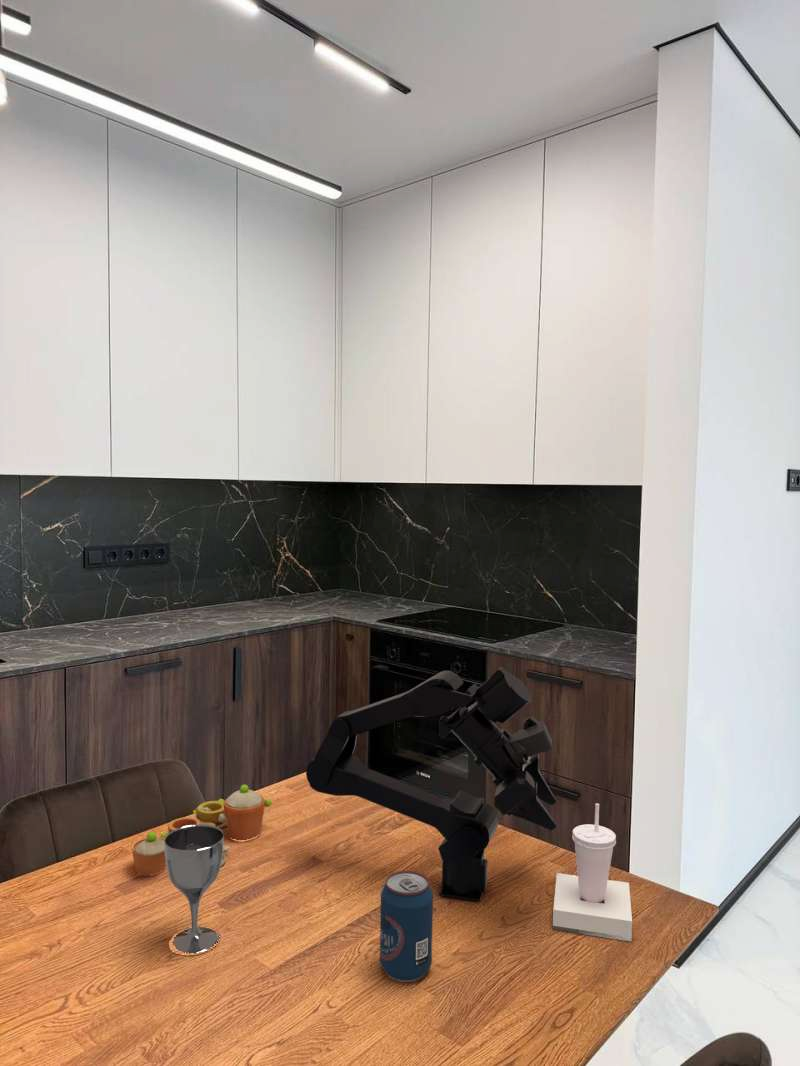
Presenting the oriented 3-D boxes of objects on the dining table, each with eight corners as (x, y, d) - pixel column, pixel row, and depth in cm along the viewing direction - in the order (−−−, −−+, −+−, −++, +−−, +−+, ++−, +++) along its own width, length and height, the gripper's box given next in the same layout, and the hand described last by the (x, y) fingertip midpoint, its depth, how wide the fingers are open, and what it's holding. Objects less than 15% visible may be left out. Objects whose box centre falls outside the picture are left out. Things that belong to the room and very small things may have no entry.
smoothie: (622, 897, 115) (625, 806, 114) (597, 912, 111) (601, 818, 110) (586, 880, 120) (589, 792, 119) (561, 894, 116) (564, 803, 115)
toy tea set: (208, 813, 150) (208, 765, 149) (278, 827, 144) (278, 776, 144) (114, 876, 126) (114, 818, 125) (194, 895, 120) (194, 835, 120)
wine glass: (234, 931, 110) (234, 829, 109) (202, 963, 103) (202, 854, 102) (186, 920, 113) (186, 820, 112) (152, 950, 105) (152, 844, 104)
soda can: (369, 964, 103) (370, 877, 102) (410, 946, 107) (412, 863, 106) (400, 992, 98) (401, 901, 97) (442, 972, 102) (444, 884, 101)
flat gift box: (552, 929, 112) (553, 909, 112) (556, 891, 123) (556, 872, 122) (631, 941, 109) (632, 921, 109) (628, 901, 120) (628, 882, 120)
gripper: (519, 724, 110) (596, 807, 108) (524, 690, 128) (590, 761, 127) (463, 773, 112) (538, 855, 110) (476, 733, 130) (540, 803, 129)
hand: (554, 815), depth 119 cm, fingers open, 9 cm apart
